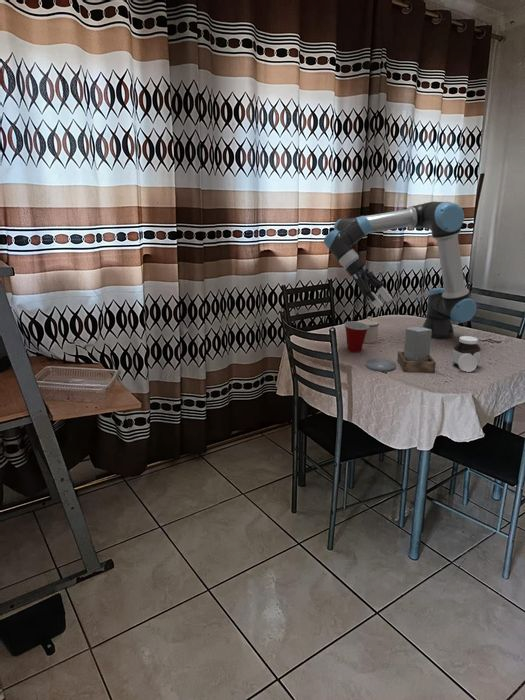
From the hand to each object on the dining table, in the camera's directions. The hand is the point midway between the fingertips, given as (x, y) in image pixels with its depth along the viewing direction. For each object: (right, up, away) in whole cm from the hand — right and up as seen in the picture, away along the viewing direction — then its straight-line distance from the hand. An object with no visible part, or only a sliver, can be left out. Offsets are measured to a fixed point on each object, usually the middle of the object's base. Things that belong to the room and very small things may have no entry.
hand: (385, 303), depth 199 cm
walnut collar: (+12, -25, -1) cm, 28 cm away
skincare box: (+12, -26, -1) cm, 28 cm away
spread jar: (+32, -26, -2) cm, 41 cm away
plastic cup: (-9, -19, +19) cm, 28 cm away
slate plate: (-2, -25, -1) cm, 25 cm away
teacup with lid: (-2, -15, +32) cm, 36 cm away
